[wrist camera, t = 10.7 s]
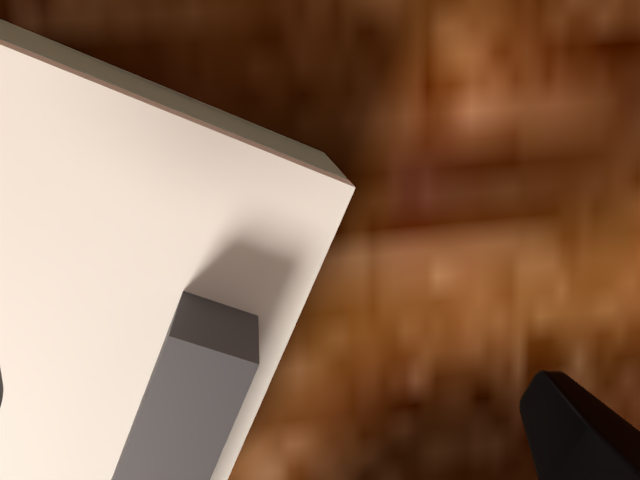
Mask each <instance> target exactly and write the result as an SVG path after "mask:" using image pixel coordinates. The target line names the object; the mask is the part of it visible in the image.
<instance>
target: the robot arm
mask: <svg viewBox="0 0 640 480" xmlns="http://www.w3.org/2000/svg"><path fill="white" fill-rule="evenodd" d="M2 399H3V381H2V374H1V368H0V407H1V403H2ZM520 414H521V418H522V421H523V425H524V429H525V432H526V436H527V440H528V443H529V447H530V451H531V454H532V458H533V462H534V465H535V469H536V473H537V476H538V480H640V431H639V430H637V429H636V428H635V427H633V426H632V425H631V424H630V423H628V422H627V421H626V420H624V419H623V418H622V417H620V416H619V415H618V414H617V413H615V412H614V411H613V410H611V409H610V408H609V407H608V406H606V405H605V404H604V403H602V402H601V401H600V400H599V399H597V398H596V397H595V396H593V395H592V394H591V393H589V392H588V391H587V390H586V389H584V388H583V387H582V386H580V385H579V384H578V383H577V382H575V381H574V380H573V379H571V378H570V377H569V376H568V375H566V374H565V373H563V372H561V371H556V370H540V371H539V372H537V373H536V374H535V376H534V377H533V379H532V381H531V382H530V384H529V386H528V387H527V389H526V391H525V392H524V394H523V396H522V397H521V400H520Z"/></svg>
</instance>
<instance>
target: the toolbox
mask: <svg viewBox="0 0 640 480" xmlns="http://www.w3.org/2000/svg"><path fill="white" fill-rule="evenodd" d="M0 39H2V40H4V41H7V42H9V43H11V44H14V45H16V46H19V47H21V48H24V49H26V50H29V51H31V52H34V53H36V54H39V55H41V56H44V57H46V58H49V59H51V60H53V61H56V62H58V63H61V64H63V65H66V66H68V67H71V68H73V69H76V70H78V71H81V72H83V73H86V74H88V75H91V76H93V77H95V78H98V79H100V80H103V81H105V82H108V83H110V84H113V85H115V86H118V87H120V88H123V89H125V90H128V91H130V92H133V93H135V94H137V95H140V96H142V97H145V98H147V99H150V100H152V101H155V102H157V103H160V104H162V105H165V106H167V107H170V108H172V109H175V110H177V111H179V112H182V113H184V114H187V115H189V116H192V117H194V118H197V119H199V120H202V121H204V122H207V123H209V124H212V125H214V126H217V127H219V128H221V129H224V130H226V131H229V132H231V133H234V134H236V135H239V136H241V137H244V138H246V139H249V140H251V141H254V142H256V143H259V144H261V145H263V146H266V147H268V148H271V149H273V150H276V151H278V152H281V153H283V154H286V155H288V156H291V157H293V158H296V159H298V160H301V161H303V162H305V163H308V164H310V165H313V166H315V167H318V168H320V169H323V170H325V171H328V172H330V173H333V174H335V175H338V176H340V177H343V178H345V179H347V177H346V176H345V175H344V174H343V173H342V172H341V171H340V170H339V168H338V167H337V166H336V165H335V164H334V163H333V162H332V161H331V160H330V158H329V157H328V156H327V155H326V154H325V153H324V152H322V151H320V150H317V149H315V148H312V147H310V146H307V145H305V144H303V143H300V142H298V141H295V140H293V139H290V138H288V137H286V136H283V135H281V134H278V133H276V132H273V131H271V130H269V129H266V128H264V127H261V126H259V125H257V124H254V123H252V122H249V121H247V120H244V119H242V118H240V117H237V116H235V115H232V114H230V113H227V112H225V111H223V110H220V109H218V108H215V107H213V106H210V105H208V104H206V103H203V102H201V101H198V100H196V99H193V98H191V97H189V96H186V95H184V94H181V93H179V92H176V91H174V90H172V89H169V88H167V87H164V86H162V85H159V84H157V83H155V82H152V81H150V80H147V79H145V78H143V77H140V76H138V75H135V74H133V73H130V72H128V71H126V70H123V69H121V68H118V67H116V66H113V65H111V64H109V63H106V62H104V61H101V60H99V59H96V58H94V57H92V56H89V55H87V54H84V53H82V52H79V51H77V50H75V49H72V48H70V47H67V46H65V45H62V44H60V43H58V42H55V41H53V40H50V39H48V38H45V37H43V36H41V35H38V34H36V33H33V32H31V31H29V30H26V29H24V28H21V27H19V26H16V25H14V24H12V23H9V22H7V21H4V20H2V19H0Z"/></svg>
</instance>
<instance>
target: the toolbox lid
mask: <svg viewBox="0 0 640 480" xmlns="http://www.w3.org/2000/svg"><path fill="white" fill-rule="evenodd" d="M355 188H356V187H355V186H354V185H353V184H352V183H351V182H350V181H349V180H347V179H345V178H343V177H340V176H338V175H335V174H333V173H330V172H328V171H325V170H323V169H320V168H318V167H315V166H313V165H310V164H308V163H305V162H303V161H301V160H298V159H296V158H293V157H291V156H288V155H286V154H283V153H281V152H278V151H276V150H273V149H271V148H268V147H266V146H263V145H261V144H259V143H256V142H254V141H251V140H249V139H246V138H244V137H241V136H239V135H236V134H234V133H231V132H229V131H226V130H224V129H221V128H219V127H217V126H214V125H212V124H209V123H207V122H204V121H202V120H199V119H197V118H194V117H192V116H189V115H187V114H184V113H182V112H179V111H177V110H175V109H172V108H170V107H167V106H165V105H162V104H160V103H157V102H155V101H152V100H150V99H147V98H145V97H142V96H140V95H137V94H135V93H133V92H130V91H128V90H125V89H123V88H120V87H118V86H115V85H113V84H110V83H108V82H105V81H103V80H100V79H98V78H95V77H93V76H91V75H88V74H86V73H83V72H81V71H78V70H76V69H73V68H71V67H68V66H66V65H63V64H61V63H58V62H56V61H53V60H51V59H49V58H46V57H44V56H41V55H39V54H36V53H34V52H31V51H29V50H26V49H24V48H21V47H19V46H16V45H14V44H11V43H9V42H7V41H4V40H2V39H0V368H1V374H2V381H3V399H2V403H1V407H0V480H228V477H229V475H230V473H231V471H232V468H233V466H234V464H235V461H236V459H237V457H238V455H239V452H240V450H241V448H242V446H243V443H244V441H245V439H246V436H247V434H248V432H249V430H250V427H251V425H252V423H253V420H254V418H255V416H256V414H257V411H258V409H259V407H260V404H261V402H262V400H263V398H264V395H265V393H266V391H267V389H268V386H269V384H270V382H271V379H272V377H273V375H274V373H275V370H276V368H277V366H278V363H279V361H280V359H281V357H282V354H283V352H284V350H285V348H286V345H287V343H288V341H289V338H290V336H291V334H292V332H293V329H294V327H295V325H296V322H297V320H298V318H299V316H300V313H301V311H302V309H303V307H304V304H305V302H306V300H307V297H308V295H309V293H310V291H311V288H312V286H313V284H314V281H315V279H316V277H317V275H318V272H319V270H320V268H321V265H322V263H323V261H324V259H325V256H326V254H327V252H328V250H329V247H330V245H331V243H332V240H333V238H334V236H335V234H336V231H337V229H338V227H339V224H340V222H341V220H342V218H343V215H344V213H345V211H346V209H347V206H348V204H349V202H350V199H351V197H352V195H353V193H354V190H355Z"/></svg>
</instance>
